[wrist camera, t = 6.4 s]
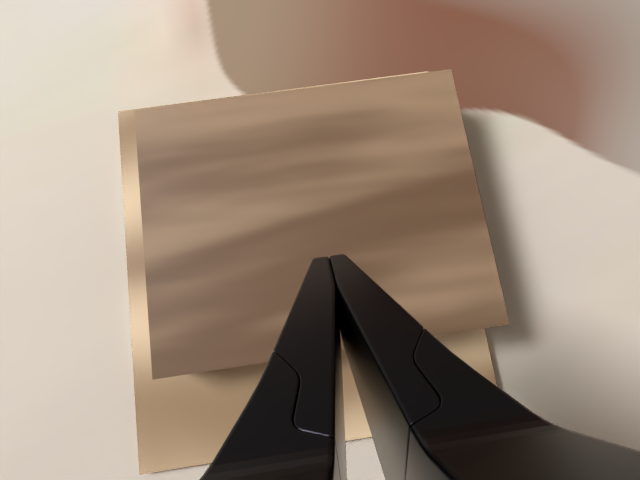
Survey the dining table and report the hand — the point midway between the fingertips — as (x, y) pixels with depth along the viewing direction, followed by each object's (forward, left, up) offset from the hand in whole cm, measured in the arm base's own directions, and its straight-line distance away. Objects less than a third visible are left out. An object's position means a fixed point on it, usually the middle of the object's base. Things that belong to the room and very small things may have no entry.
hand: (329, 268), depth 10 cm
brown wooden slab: (-3, +1, -7) cm, 8 cm away
